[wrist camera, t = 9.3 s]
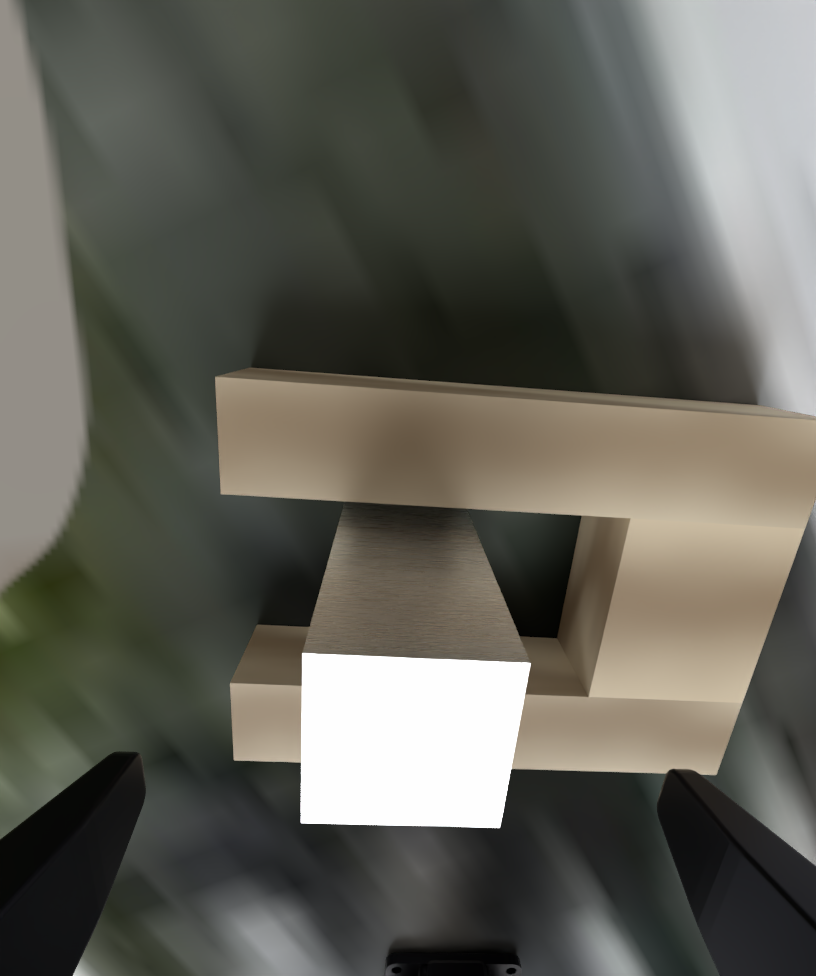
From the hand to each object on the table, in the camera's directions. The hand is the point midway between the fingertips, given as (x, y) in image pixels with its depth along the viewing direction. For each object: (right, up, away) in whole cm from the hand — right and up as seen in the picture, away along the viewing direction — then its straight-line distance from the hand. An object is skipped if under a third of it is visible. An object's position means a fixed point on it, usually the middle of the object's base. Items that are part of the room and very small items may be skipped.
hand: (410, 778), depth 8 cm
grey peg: (0, +3, +8) cm, 9 cm away
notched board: (+3, +2, +9) cm, 9 cm away
